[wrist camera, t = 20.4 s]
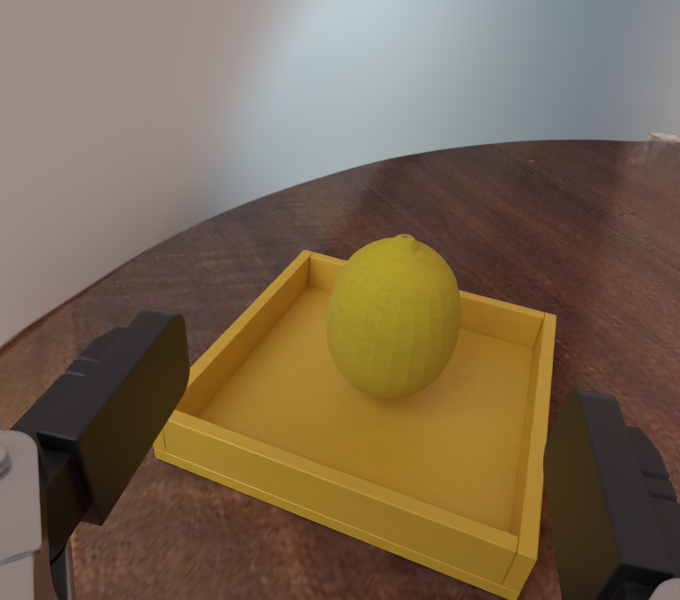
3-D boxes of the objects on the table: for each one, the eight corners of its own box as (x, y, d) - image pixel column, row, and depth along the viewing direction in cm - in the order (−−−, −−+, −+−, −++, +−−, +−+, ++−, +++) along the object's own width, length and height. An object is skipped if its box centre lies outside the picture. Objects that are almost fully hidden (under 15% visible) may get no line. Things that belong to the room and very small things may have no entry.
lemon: (433, 357, 27) (466, 211, 23) (448, 442, 22) (493, 281, 18) (324, 348, 27) (335, 200, 22) (316, 432, 22) (329, 267, 18)
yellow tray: (154, 458, 21) (146, 412, 20) (302, 286, 33) (304, 249, 31) (515, 603, 18) (537, 560, 16) (542, 353, 29) (557, 315, 27)
